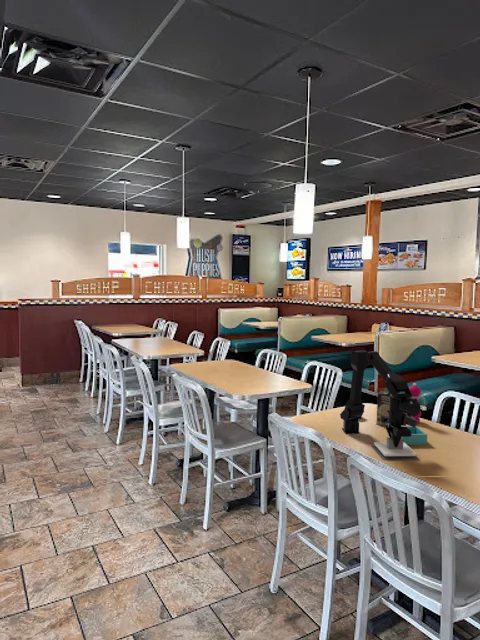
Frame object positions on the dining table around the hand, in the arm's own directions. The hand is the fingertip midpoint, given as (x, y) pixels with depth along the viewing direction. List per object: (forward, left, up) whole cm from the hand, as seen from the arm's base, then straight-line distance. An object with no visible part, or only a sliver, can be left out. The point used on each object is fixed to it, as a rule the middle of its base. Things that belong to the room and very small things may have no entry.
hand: (394, 445), depth 187 cm
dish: (+12, +14, -3) cm, 19 cm away
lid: (0, 0, -2) cm, 2 cm away
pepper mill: (+25, +41, -4) cm, 48 cm away
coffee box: (+10, +37, -4) cm, 39 cm away
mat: (0, 0, -3) cm, 3 cm away
